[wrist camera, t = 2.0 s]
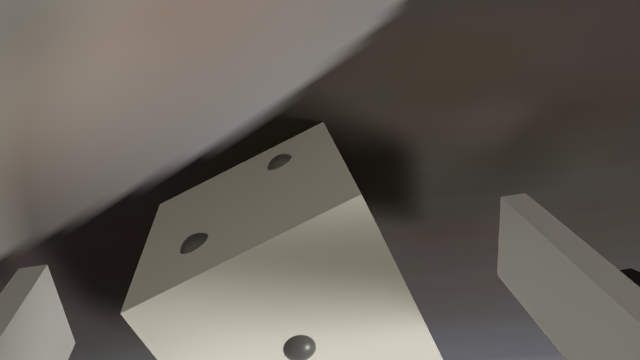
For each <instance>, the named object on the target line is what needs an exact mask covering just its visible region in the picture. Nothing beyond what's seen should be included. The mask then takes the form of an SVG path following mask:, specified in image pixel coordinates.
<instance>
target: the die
mask: <svg viewBox="0 0 640 360" xmlns="http://www.w3.org/2000/svg"><path fill="white" fill-rule="evenodd" d="M120 314H121V315H122V317H123V318H124V319H125V320H126V322H127V323H128V324H129V325H130V327H131V328H132V329H133V330H134V332H135V333H136V334H137V335H138V336H139V338H140V339H141V340H142V341H143V343H144V344H145V345H146V346H147V348H148V349H149V350H150V351H151V353H152V354H153V355H154V356H155V358H156V359H157V360H443V359H442V357H441V355H440V353H439V350H438V348H437V346H436V344H435V342H434V340H433V338H432V336H431V334H430V332H429V330H428V328H427V326H426V324H425V322H424V320H423V318H422V316H421V314H420V312H419V310H418V308H417V306H416V304H415V302H414V300H413V298H412V296H411V294H410V292H409V290H408V288H407V285H406V283H405V281H404V279H403V277H402V275H401V273H400V271H399V269H398V267H397V265H396V263H395V261H394V259H393V257H392V255H391V253H390V251H389V249H388V247H387V245H386V243H385V241H384V239H383V237H382V235H381V233H380V231H379V229H378V227H377V225H376V223H375V220H374V218H373V216H372V214H371V212H370V210H369V208H368V206H367V204H366V202H365V200H364V198H363V196H362V194H361V192H360V190H359V188H358V187H357V185H356V183H355V181H354V179H353V177H352V175H351V173H350V171H349V170H348V168H347V166H346V164H345V162H344V160H343V158H342V156H341V154H340V153H339V151H338V149H337V147H336V145H335V143H334V141H333V139H332V137H331V136H330V134H329V132H328V130H327V128H326V126H325V124H324V122H322V123H320V124H318V125H316V126H314V127H312V128H310V129H308V130H306V131H304V132H302V133H300V134H298V135H296V136H294V137H292V138H290V139H288V140H286V141H284V142H282V143H280V144H278V145H276V146H274V147H272V148H270V149H268V150H267V151H265V152H263V153H261V154H259V155H257V156H255V157H253V158H251V159H249V160H247V161H245V162H243V163H241V164H239V165H237V166H235V167H233V168H231V169H229V170H227V171H225V172H223V173H221V174H219V175H217V176H215V177H213V178H211V179H209V180H207V181H205V182H203V183H201V184H199V185H197V186H195V187H193V188H191V189H189V190H187V191H185V192H183V193H181V194H179V195H177V196H175V197H173V198H171V199H169V200H167V201H165V202H163V203H161V204H160V205H159V208H158V211H157V213H156V216H155V219H154V222H153V224H152V227H151V230H150V233H149V235H148V238H147V241H146V244H145V246H144V249H143V252H142V255H141V257H140V260H139V263H138V266H137V268H136V271H135V274H134V277H133V279H132V282H131V285H130V288H129V290H128V293H127V296H126V299H125V301H124V304H123V307H122V310H121V312H120Z"/></svg>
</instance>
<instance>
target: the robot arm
mask: <svg viewBox="0 0 640 360" xmlns="http://www.w3.org/2000/svg"><path fill="white" fill-rule="evenodd" d="M497 275H498V276H499V277H500V279H501V280H502V281H503V282H504V284H505V285H506V286H507V287H508V289H509V290H510V291H511V292H512V293H513V295H514V296H515V297H516V298H517V300H518V301H519V302H520V303H521V305H522V306H523V307H524V308H525V309H526V311H527V312H528V313H529V314H530V316H531V317H532V318H533V319H534V321H535V322H536V323H537V324H538V326H539V327H540V328H541V329H542V330H543V332H544V333H545V334H546V335H547V337H548V338H549V339H550V340H551V342H552V343H553V344H554V345H555V346H556V348H557V349H558V350H559V351H560V353H561V354H562V355H563V356H564V358H565V359H566V360H640V272H638V271H636V270H634V269H625V270H618V269H617V268H616V267H615V266H613V265H612V264H611V263H610V262H609V261H607V260H606V259H605V258H604V257H602V256H601V255H600V254H599V253H598V252H596V251H595V250H594V249H593V248H591V247H590V246H589V245H588V244H587V243H585V242H584V241H583V240H582V239H580V238H579V237H578V236H577V235H576V234H574V233H573V232H572V231H571V230H569V229H568V228H567V227H566V226H565V225H563V224H562V223H561V222H560V221H559V220H557V219H556V218H555V217H554V216H552V215H551V214H550V213H549V212H548V211H546V210H545V209H544V208H543V207H541V206H540V205H539V204H538V203H537V202H535V201H534V200H533V199H532V198H530V197H529V196H528V195H527V194H526V193H524V194H517V195H511V196H504V197H501V206H500V226H499V246H498V266H497ZM74 345H75V341H74V338H73V335H72V332H71V329H70V327H69V324H68V321H67V318H66V315H65V313H64V310H63V307H62V304H61V301H60V299H59V296H58V293H57V290H56V287H55V285H54V282H53V279H52V276H51V273H50V271H49V268H48V265H41V266H34V267H27V268H21V269H18V270H17V272H16V273H15V274H14V276H13V277H12V278H11V280H10V281H9V283H8V284H7V285H6V287H5V288H4V289H3V291H2V292H1V294H0V360H68V359H69V356H70V354H71V352H72V350H73V347H74Z"/></svg>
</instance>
